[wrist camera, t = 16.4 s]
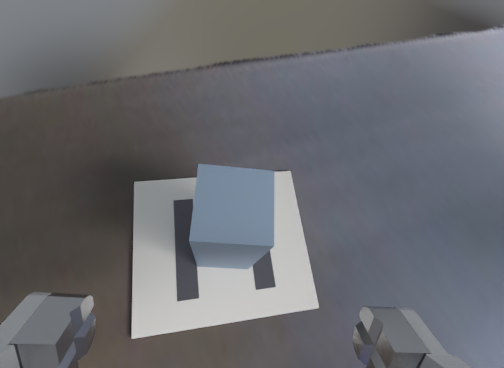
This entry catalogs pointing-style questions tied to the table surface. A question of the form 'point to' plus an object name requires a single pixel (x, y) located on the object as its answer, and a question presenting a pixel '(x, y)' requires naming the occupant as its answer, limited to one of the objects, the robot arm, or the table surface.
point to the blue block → (232, 216)
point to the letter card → (209, 278)
